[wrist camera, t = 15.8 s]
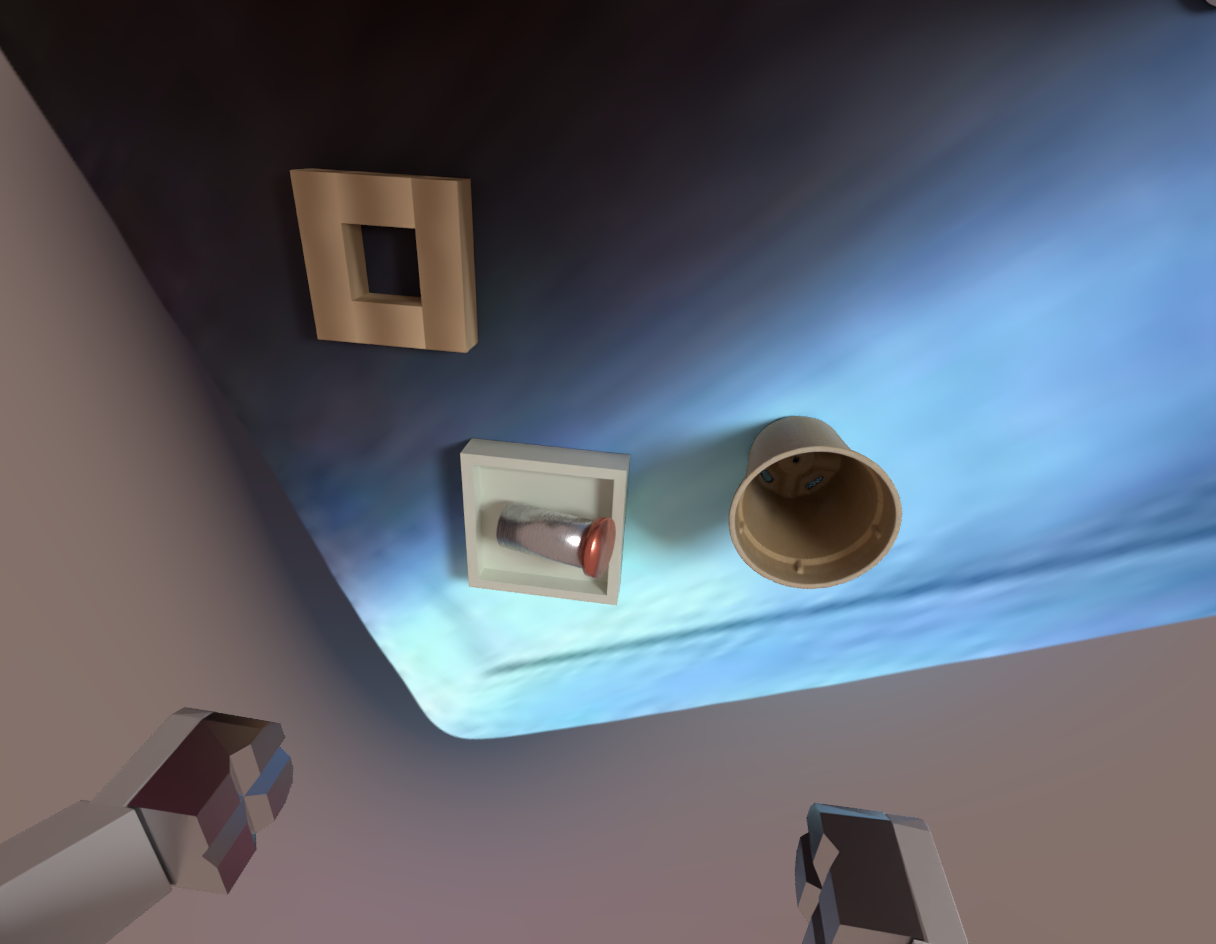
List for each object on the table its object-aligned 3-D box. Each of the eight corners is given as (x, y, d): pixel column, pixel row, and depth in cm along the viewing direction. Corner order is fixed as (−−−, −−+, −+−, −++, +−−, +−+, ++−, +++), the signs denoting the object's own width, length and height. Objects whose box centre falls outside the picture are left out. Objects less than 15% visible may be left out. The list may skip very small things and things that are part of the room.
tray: (630, 454, 45) (626, 470, 43) (620, 584, 50) (616, 605, 48) (471, 438, 46) (460, 453, 44) (478, 567, 51) (468, 586, 49)
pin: (522, 486, 47) (616, 507, 44) (524, 534, 49) (614, 557, 46) (491, 513, 43) (591, 537, 41) (495, 563, 45) (591, 590, 43)
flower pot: (699, 479, 45) (699, 547, 38) (771, 366, 41) (786, 418, 33) (813, 534, 46) (835, 612, 38) (896, 430, 42) (939, 494, 34)
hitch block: (470, 178, 38) (456, 181, 36) (478, 342, 43) (466, 352, 40) (312, 168, 39) (289, 170, 37) (336, 329, 43) (317, 339, 41)
